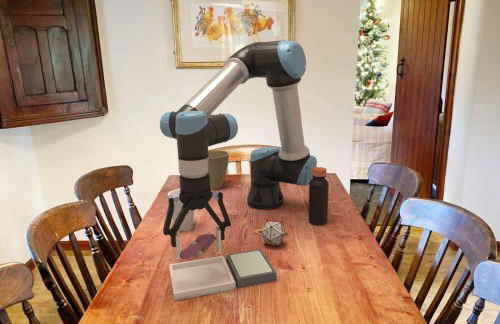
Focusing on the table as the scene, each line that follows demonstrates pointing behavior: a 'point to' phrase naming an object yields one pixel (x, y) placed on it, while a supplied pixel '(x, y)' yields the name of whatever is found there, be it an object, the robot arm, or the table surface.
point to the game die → (273, 233)
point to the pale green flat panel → (250, 264)
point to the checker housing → (255, 278)
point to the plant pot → (217, 167)
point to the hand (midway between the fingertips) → (199, 254)
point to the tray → (200, 277)
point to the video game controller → (198, 246)
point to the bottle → (318, 197)
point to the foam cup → (188, 219)
